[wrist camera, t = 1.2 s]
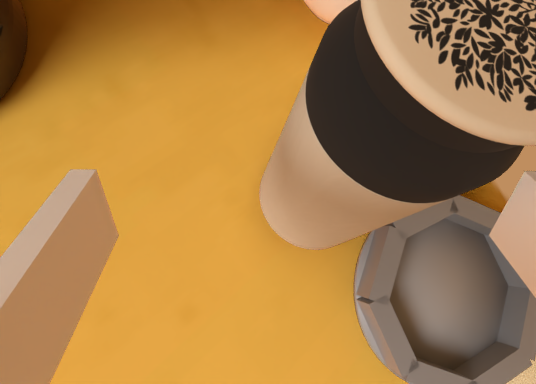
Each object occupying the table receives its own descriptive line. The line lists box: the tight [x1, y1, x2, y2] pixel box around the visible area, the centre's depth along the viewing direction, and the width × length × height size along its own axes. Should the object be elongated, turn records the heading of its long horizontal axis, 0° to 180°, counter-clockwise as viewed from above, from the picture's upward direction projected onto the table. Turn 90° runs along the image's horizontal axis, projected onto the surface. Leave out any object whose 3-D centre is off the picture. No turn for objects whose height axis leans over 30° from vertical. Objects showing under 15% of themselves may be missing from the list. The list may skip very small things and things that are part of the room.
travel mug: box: [259, 0, 536, 250], centre depth 17 cm, size 8×8×18 cm
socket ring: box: [354, 195, 536, 384], centre depth 27 cm, size 15×15×2 cm
